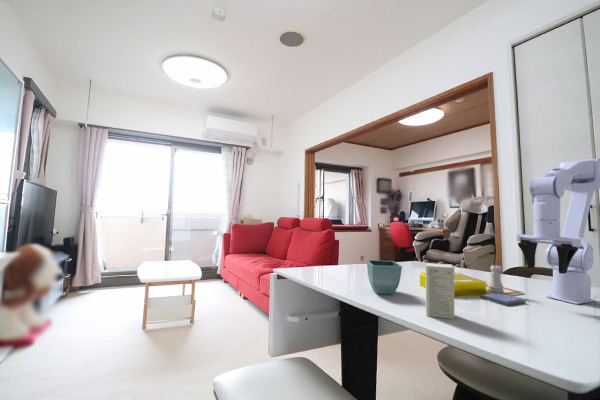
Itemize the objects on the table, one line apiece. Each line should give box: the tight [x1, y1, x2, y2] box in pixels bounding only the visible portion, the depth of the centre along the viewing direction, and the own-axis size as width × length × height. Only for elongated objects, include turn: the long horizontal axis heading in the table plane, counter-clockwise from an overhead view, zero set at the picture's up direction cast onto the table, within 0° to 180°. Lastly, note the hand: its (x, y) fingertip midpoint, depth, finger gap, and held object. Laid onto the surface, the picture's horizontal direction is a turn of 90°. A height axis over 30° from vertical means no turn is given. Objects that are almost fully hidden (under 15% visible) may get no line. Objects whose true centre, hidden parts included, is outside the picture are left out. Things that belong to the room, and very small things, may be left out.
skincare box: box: [425, 262, 455, 320], centre depth 75 cm, size 6×4×12 cm
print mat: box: [486, 284, 525, 297], centre depth 100 cm, size 11×11×1 cm
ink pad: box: [479, 293, 526, 307], centre depth 89 cm, size 8×8×1 cm
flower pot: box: [366, 259, 403, 295], centre depth 94 cm, size 9×9×9 cm
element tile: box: [419, 271, 487, 298], centre depth 100 cm, size 15×15×5 cm
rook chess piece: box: [487, 264, 505, 293], centre depth 97 cm, size 4×4×8 cm
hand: (546, 270), depth 84 cm, fingers open, 7 cm apart
